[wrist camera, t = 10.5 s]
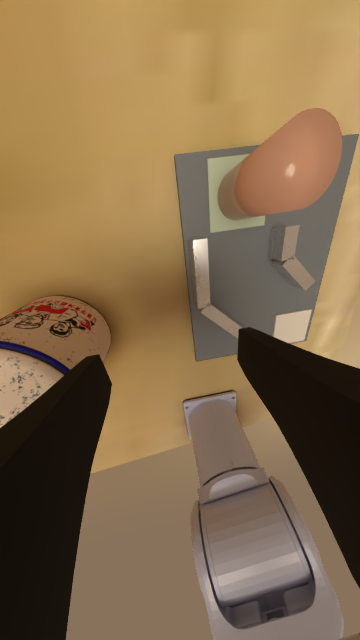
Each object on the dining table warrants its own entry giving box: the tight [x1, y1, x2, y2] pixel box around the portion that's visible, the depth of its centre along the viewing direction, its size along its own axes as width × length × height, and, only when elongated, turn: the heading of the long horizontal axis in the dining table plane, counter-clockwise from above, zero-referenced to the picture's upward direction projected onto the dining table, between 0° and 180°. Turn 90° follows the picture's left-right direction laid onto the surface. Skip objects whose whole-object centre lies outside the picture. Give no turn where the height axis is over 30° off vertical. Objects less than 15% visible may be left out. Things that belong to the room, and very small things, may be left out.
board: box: [174, 134, 359, 362], centre depth 18 cm, size 20×15×1 cm
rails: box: [188, 225, 315, 339], centre depth 17 cm, size 12×12×2 cm
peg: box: [217, 108, 342, 220], centre depth 11 cm, size 4×4×7 cm
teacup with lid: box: [0, 296, 111, 428], centre depth 13 cm, size 12×9×12 cm
